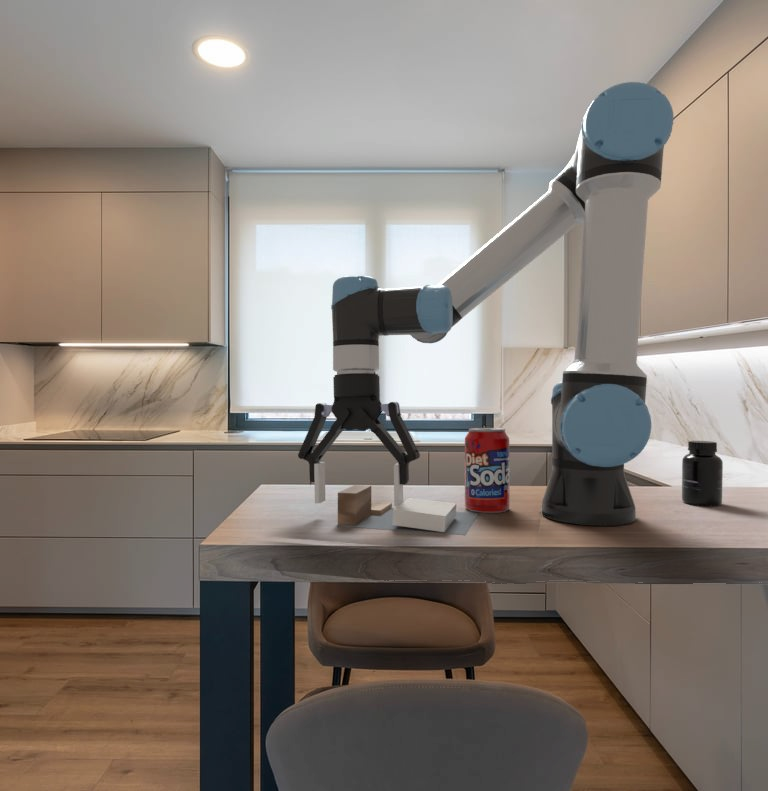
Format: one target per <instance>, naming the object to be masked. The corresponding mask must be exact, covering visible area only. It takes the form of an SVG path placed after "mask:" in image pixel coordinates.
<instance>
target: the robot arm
mask: <svg viewBox="0 0 768 791" xmlns="http://www.w3.org/2000/svg"><path fill="white" fill-rule="evenodd" d="M674 117H675V116H674V111H673V106H672V104H671V102H670V100H669V99H668V98H667V96H666V95H665V94H664V93H663V92H661V91H660V90H658V88H657V87H655V86H653V85H650V84H647V83H644V82H639V81H638V82H637V81H627V82H622V83H618V84H617V83H616V85H613V86H610V87H608V88H607V89H604V90H603V91H602V92H600V93H599V95H597V96H596V97H595V98H594V99H593V100H592V102H591V103H590V105H589V107H588V108H587V110H586V112H585V114H584V116H583V119H582V120H581V128H580V130H579V131H580V133H579V136H578V140H577V143H576V147H575V151H574V153H573V155H572V157H571V159H570V160H569V162H568V163H567V165H566V166H565V167H564V169H563V170H562V171H561V172H560V173H559V174H558V175H557V176H555V177H554V178H553V179H552V180H551V181H550V182H549V185H548V191H547V192H545V194H543V195H542V196H541V197H539V199H537V200H536V201H535V202H534V203H533V204H532V205H530V206H529V207H528V208H527V209H526V210H524V211H523V212H522V213H521V214H520V215H519V216H517V217H516V218H514V220H513V221H511V222H510V223H509V224H508V225H506V226H505V227H504V228H503V229H501V231H499V233H497V234H496V235H495V236H493V238H491V239H489V241H488V242H487V243H485V244H483V246H482V247H480V248H479V249H478V250H477V251H476V252H474V253H473V255H471V256H470V257H469V258H468V259H466V260H464V262H463V263H462V264H460V265H459V266H458V267H457V268H456V269H454V270H453V271H452V272H451V273H450V274H448V275H447V276H446V277H445V278H444V279H443V280H441V281H440V282H439V283H438V284H437V285H430V284H426V285H423V286H422V285H421V286H420V285H419V286H412V287H411V286H408V287H397V288H396V287H393V288H380V287H379V286H378V281H377V279H376V278H375V277H373V276H367V275H346V276H342V277H339V278H337V279H336V280H334V282H333V285H332V296H331V297H332V299H331V300H332V301H331V308H330V309H331V316H332V317H331V318H332V319H331V320H332V370H333V372H336V374H335V375H334V376H333V379H332V380H333V403H332V404H328V403H325V402H323V403H321V402H320V403H319V402H318V403H316V404H315V407H314V408H315V409H314V418H313V420H312V421H311V424H310V425H309V428H308V431H307V433H306V435H305V438H304V440H303V443H302V445H301V447H300V449H299V451H298V454H297V457H298V458H299V460H303V461H306V462H308V465H309V481H310V483H314V504H322V503H323V502H325V501H326V462H325V461H322V458H323V457H324V455H325V454H326V453H327V452H328V450H329V449H330V447H332V445H333V444H334V442H335V441H337V439H338V437H339V436H340V435H341V434H342V432H343V431H345V430H346V431H354V430H355V431H356V430H358V431H368V430H370V431H371V432H372V433H373V434H375V436H376V437H377V438H378V439H379V441H380V442H381V444H383V445H384V447H385V448H386V449H387V450H388V452H389V453H390V455H392V456H393V458H394V459H395V460H396V461H397V463H395V464H393V498H394V500H393V502H394V505H393V506H394V507H397V506H398V505H400V504H401V503H403V502H404V485H407V484H408V483H409V481H410V477H409V476H410V475H409V474H410V470H409V469H410V468H409V465H410V463H411V462H413V461H416V460H418V459H420V456H421V454H420V452H419V449H418V448H417V446H416V444H415V441H414V440H413V437H412V436H411V434H410V431H409V429H408V428H407V424H405V421H404V420H403V418H402V417H403V416H402V415H401V408H400V403H399V402H397V401H390V402H389V403H383V404H382V402H381V399H380V397H381V396H380V395H381V394H380V393H381V392H380V390H381V389H380V388H381V387H380V375H379V374H378V373H376V372H377V371H379V369H380V347H379V344H380V343H379V339H380V336H385V337H386V336H387V337H388V336H405V335H406V336H409V335H410V336H411V338H413V339H415V340H416V341H417V342H419V343H422V344H435V343H438V342H440V341H441V340H443V339H444V338H445V337H446V336H447V334H449V332H450V331H451V330H452V328H453V327H454V326H455V325H456V324H458V323H459V322H460V321H461V320H462V319H463V318H464V317H465V316H466V315H468V314H469V313H470V312H472V311H473V310H474V309H475V308H476V307H478V306H479V305H480V304H481V303H483V302H484V301H485V300H486V299H487V298H489V297H490V296H491V295H492V294H493V293H495V292H496V291H497V290H499V288H501V287H503V285H505V284H507V282H508V281H510V280H511V279H512V278H514V276H515V275H517V274H518V273H519V272H520V271H521V270H523V269H525V267H527V266H528V265H529V264H530V263H532V261H534V260H535V259H536V258H538V257H539V256H541V254H542V253H544V252H545V251H546V250H548V248H550V247H551V246H553V245H554V244H555V243H556V242H557V241H558V240H559V239H561V238H562V237H563V236H565V235H566V234H567V233H568V232H570V231H571V230H572V229H573V228H574V227H576V226H577V227H583V233H582V248H581V251H582V252H581V262H580V276H579V288H578V289H579V290H578V304H577V305H578V306H577V320H576V332H575V333H576V334H575V344H574V345H575V347H574V350H575V351H574V360H573V361H572V363H571V364H570V365H569V366H568V367H566V368H565V369H564V370H563V371H562V381H559V382H557V383H556V384H555V385H554V386H553V388H552V395H551V397H550V404H551V413H552V414H551V415H552V416H551V417H552V418H551V419H552V420H551V422H552V424H551V425H552V427H551V431H552V433H551V436H552V437H551V438H552V439H551V440H552V441H551V445H552V446H551V453H552V455H551V456H552V458H551V459H552V460H551V461H552V467H551V468H552V469H551V473H550V476H549V478H548V479H549V480H548V483H547V485H546V489H545V492H544V494H543V497H542V501H541V514H542V516H544V517H546V518H547V519H550V520H553V521H557V522H561V523H562V522H563V523H569V524H575V525H585V526H599V527H600V526H601V527H602V526H604V527H605V526H623V525H627V524H628V525H629V524H632V523H634V522H636V520H637V519H636V517H637V516H636V515H637V514H636V512H637V511H636V510H637V507H636V504H635V501H634V498H633V496H632V493H631V490H630V486H629V484H628V481H627V478H626V475H625V464H627V463H629V462H631V461H632V460H634V459H635V458H636V457H638V456H639V454H641V453H642V452H643V450H644V449H645V447H646V446H647V445H648V442H649V440H650V437H651V432H652V420H651V418H652V417H651V414H650V411H649V408H648V405H647V404H646V396H647V382H648V381H647V379H648V375H647V374H646V373H645V372H644V371H643V370H642V369H641V368H640V367H639V366H638V363H637V358H638V345H639V344H638V343H639V330H640V320H641V319H640V317H641V315H640V314H641V301H642V289H643V278H644V277H643V276H644V263H645V247H646V246H645V245H646V235H647V234H646V233H647V218H648V206H649V200H650V199H651V198H652V197H653V196H654V195H655V194H656V193H657V192H658V191H659V190H660V189H661V185H662V174H663V162H664V160H663V159H664V149H665V146H666V144H667V143H668V141H669V139H670V137H671V133H672V132H673V126H674V120H675V119H674ZM383 412H384V414H385V415H386V416H387V417H389V420H390V422H391V424H392V426H393V428H394V430H395V432H396V434H397V436H398V438H399V440H400V442H401V444H402V446H403V448H404V449H403V448H402V447H401V446H400V445H399V443H398V442H397V441H396V440H395V439H394V438H393V437H392V435H391V434H390V433H389V432H388V430H387V429H386V427H385V426H384V424H383V423H382V422H381V421H380V419H379V417H380V416H381V414H382V413H383ZM331 413H332V414H333V415H334V417H335V419H336V420H334V422H333V423H332V425H331V426H330V429H329V430H328V431H327V432H326V434H325V436H323V438H322V440H320V442H319V443H318V445H317V446H316V444H317V441H318V439H319V437H320V434H321V432H322V430H323V428H324V425H325V422H326V420H327V417H330V415H331ZM315 446H316V447H315ZM314 448H315V449H314ZM404 450H405V451H404Z"/></svg>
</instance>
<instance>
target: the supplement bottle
mask: <svg viewBox="0 0 768 791" xmlns="http://www.w3.org/2000/svg"><path fill="white" fill-rule="evenodd" d="M687 443H688V445H687V446H688V448H687V450H688V451H689V453H687V454H685V455H684V456H683V458H682V459H681V460H682V464H681V467H682V468H681V499H682V502H683V503H685V504H687V503H689V504H688V505H691V504H693V505H692V506H697V505H699V506H698V507H719V505H720V506H721V505H722V503H723V472H724V471H723V469H724V468H723V465H724V464H723V460H722V459H721V457H719V456H718V455H717V454H716V453H717V452H718V444H717V442H716V441H710V440H688V442H687Z"/></svg>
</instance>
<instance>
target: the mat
mask: <svg viewBox="0 0 768 791" xmlns="http://www.w3.org/2000/svg"><path fill="white" fill-rule="evenodd" d="M394 508H395V507H392V508H390V509H389V510H388V511H386V512H385V513H383V514H382V515H371V516H370V517H368V518H367V519H365V520H364V521H362V522H361V523H359V524H358V525H356V526H353V525H338V524H337V525H336V527H342V528H356V529H357V528H358V529H373V530H385V531H399V532H400V531H401V532H412V533H413V532H417V533H429V534H431V533H432V534H443V535H457V536H460V535H461V536H466V535H467V533H468V532H469V530H470V528H471V526H472V525H473V524H474V522H475V520H476V518H477V517H478V515H479V514H480V513H478V512H471V511H469V512H468V511H467V512H466V511H456V518H455V519H454V521H453V522H452V523H451V525H450V526H449V527H448V528H447V530H446V531H445V532H439V531H432V530H425V529H418V528H411V527H404V526H397V525H392V522H393V509H394Z"/></svg>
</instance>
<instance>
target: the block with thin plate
mask: <svg viewBox="0 0 768 791" xmlns="http://www.w3.org/2000/svg"><path fill="white" fill-rule="evenodd" d="M390 508H393V504H392V502H381V501H379V502H377V501H372V485H360V484H354V485H352V486H349V487H348V488H345V489H342V490H340V491H338V492H337V525H353V526H356V525H358V524H359V523H361V522H362V521H364V520H365V519H367V518H368V517H370V516H371V515H382V514H383V513H385V512H386V511H388V510H389V509H390Z"/></svg>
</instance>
